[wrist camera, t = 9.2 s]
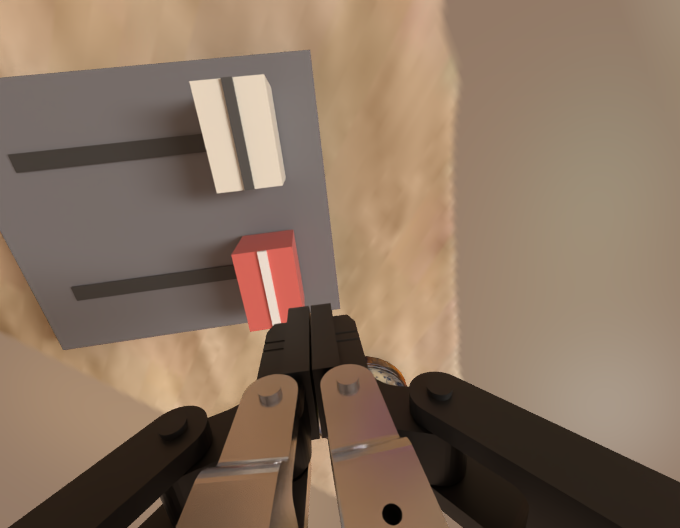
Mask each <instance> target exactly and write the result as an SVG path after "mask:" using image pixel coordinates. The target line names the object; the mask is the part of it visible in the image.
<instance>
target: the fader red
mask: <svg viewBox="0 0 680 528" xmlns="http://www.w3.org/2000/svg"><path fill="white" fill-rule="evenodd" d="M231 256H232V260H233V264H234V268H235V272H236V276H237V280H238V284H239V288H240V292H241V296H242V300H243V304H244V308H245V312H246V316H247V320H248V324H249V328H250V332H251V331H258V330H265V329H271V328H272V327H273V325H274V324H278V323H286V322H287V317H288V309H289V308H295V307H303V306H305V303H304V291H303V285H302V279H301V273H300V267H299V260H298V254H297V248H296V242H295V236H294V230H285V231H278V232H270V233H262V234H255V235H247V236H242V238H241V240H240V241H239V243H238V245H237V246H236V248H235V249H234V251H233V253H232V254H231Z"/></svg>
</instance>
